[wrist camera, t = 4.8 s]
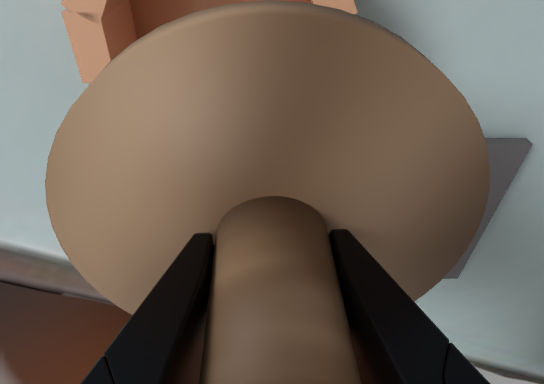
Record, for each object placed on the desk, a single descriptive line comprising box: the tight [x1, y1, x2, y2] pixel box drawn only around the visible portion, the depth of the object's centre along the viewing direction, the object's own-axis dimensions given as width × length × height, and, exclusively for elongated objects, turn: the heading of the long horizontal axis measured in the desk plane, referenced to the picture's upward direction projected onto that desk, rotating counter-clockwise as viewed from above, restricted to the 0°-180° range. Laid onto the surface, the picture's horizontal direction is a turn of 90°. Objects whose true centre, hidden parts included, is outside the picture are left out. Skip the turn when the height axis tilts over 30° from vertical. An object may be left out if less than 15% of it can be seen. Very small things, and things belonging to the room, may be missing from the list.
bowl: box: [61, 0, 358, 84], centre depth 15 cm, size 10×10×4 cm
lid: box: [45, 0, 490, 384], centre depth 8 cm, size 10×10×5 cm
